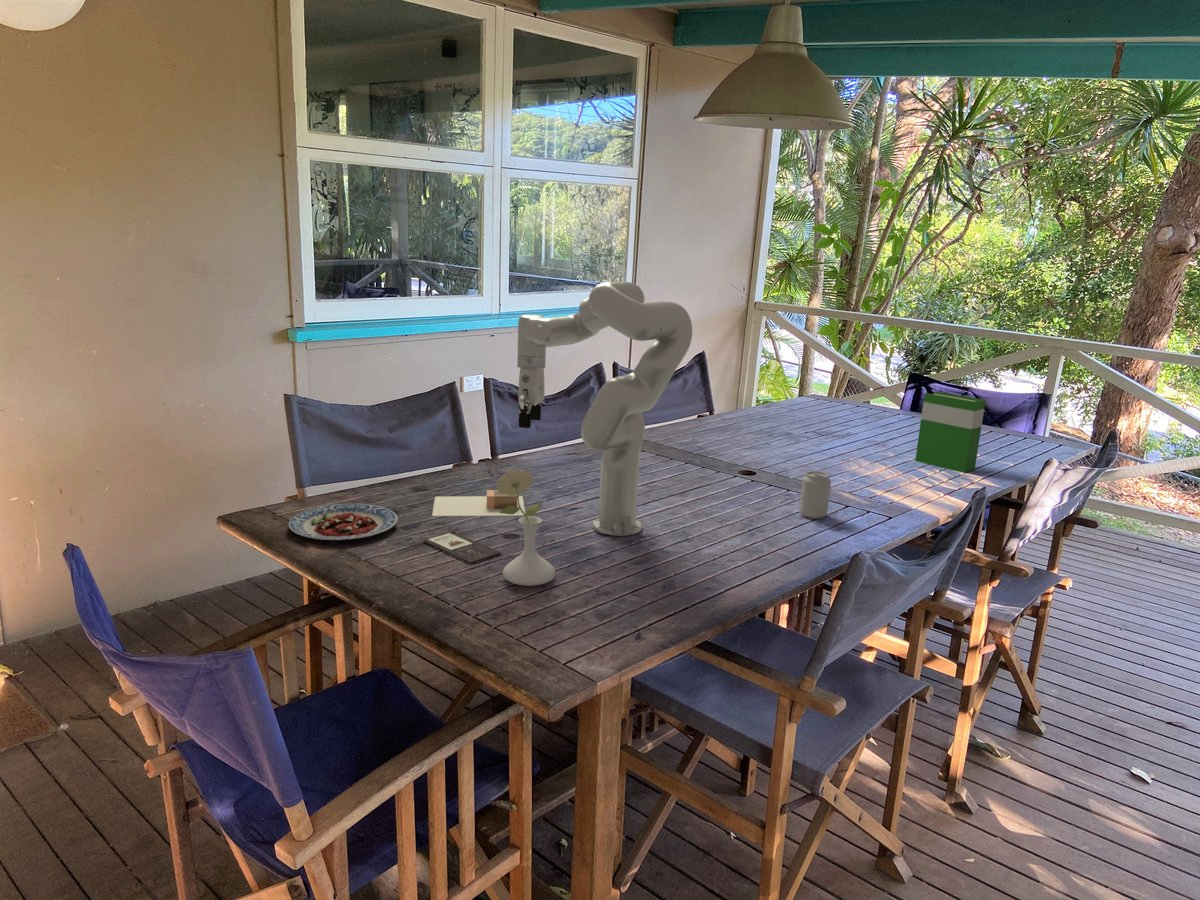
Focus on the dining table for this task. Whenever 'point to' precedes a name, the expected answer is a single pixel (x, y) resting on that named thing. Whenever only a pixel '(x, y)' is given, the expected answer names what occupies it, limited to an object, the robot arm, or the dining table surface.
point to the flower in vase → (529, 564)
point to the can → (815, 495)
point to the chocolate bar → (462, 547)
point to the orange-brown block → (499, 500)
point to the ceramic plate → (343, 521)
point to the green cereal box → (950, 431)
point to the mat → (469, 507)
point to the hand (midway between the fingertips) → (529, 423)
